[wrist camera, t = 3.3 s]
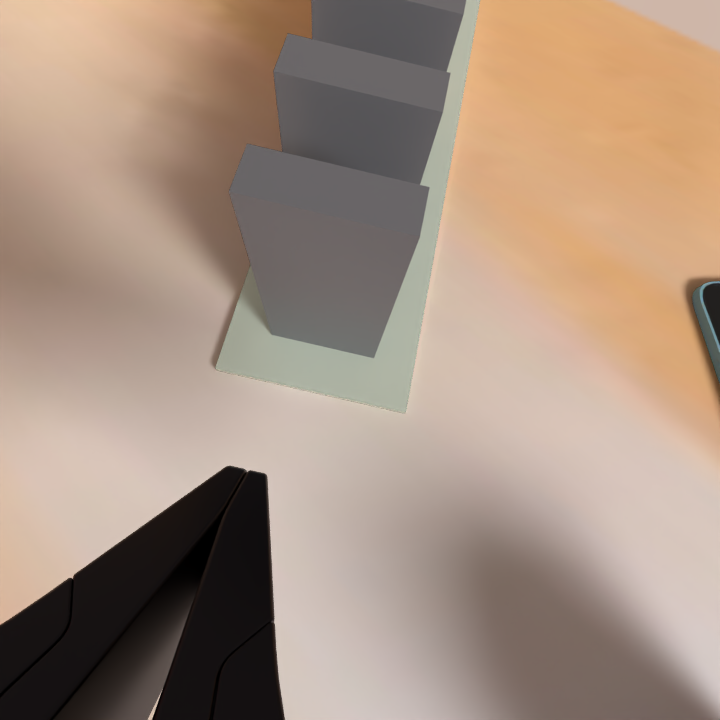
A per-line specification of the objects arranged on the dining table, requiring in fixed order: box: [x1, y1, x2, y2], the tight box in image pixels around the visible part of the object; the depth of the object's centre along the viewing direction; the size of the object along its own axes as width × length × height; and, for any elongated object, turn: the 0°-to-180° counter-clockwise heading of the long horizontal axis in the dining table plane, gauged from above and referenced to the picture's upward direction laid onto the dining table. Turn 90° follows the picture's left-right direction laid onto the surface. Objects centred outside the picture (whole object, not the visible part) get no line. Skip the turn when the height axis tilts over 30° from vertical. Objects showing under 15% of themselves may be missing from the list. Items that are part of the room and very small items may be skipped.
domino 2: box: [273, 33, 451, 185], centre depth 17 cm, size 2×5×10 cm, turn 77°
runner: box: [215, 0, 480, 413], centre depth 25 cm, size 30×9×1 cm, turn 167°
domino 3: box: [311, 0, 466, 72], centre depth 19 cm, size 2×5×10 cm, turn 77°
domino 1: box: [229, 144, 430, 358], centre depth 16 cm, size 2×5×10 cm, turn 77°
